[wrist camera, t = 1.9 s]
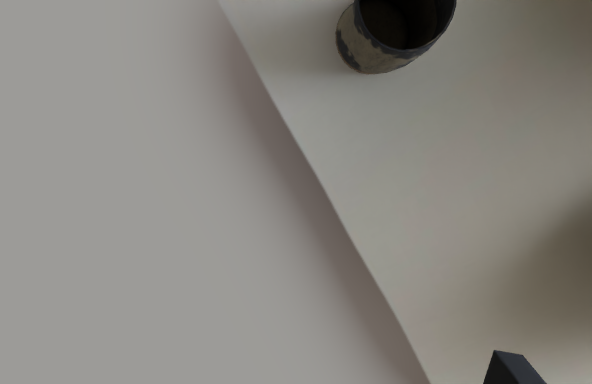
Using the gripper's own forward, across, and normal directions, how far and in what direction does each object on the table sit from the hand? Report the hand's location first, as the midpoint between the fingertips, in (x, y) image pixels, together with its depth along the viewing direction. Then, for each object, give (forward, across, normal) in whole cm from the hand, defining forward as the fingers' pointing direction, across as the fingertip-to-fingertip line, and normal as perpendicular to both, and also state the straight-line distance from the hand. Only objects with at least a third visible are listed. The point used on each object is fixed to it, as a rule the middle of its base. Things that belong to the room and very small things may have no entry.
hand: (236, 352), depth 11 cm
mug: (+25, +4, +12) cm, 28 cm away
